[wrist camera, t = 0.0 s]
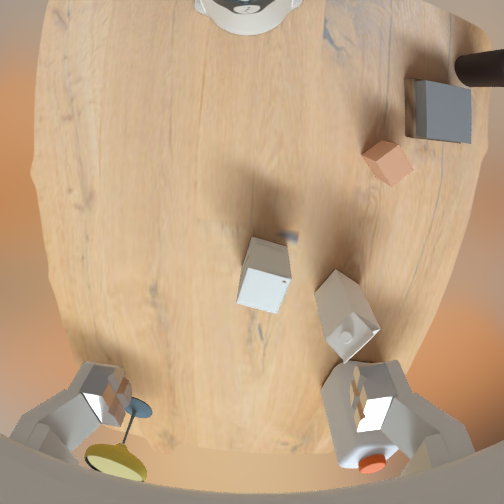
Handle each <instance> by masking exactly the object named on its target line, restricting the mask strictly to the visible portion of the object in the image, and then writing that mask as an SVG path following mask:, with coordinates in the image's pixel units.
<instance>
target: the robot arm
mask: <svg viewBox="0 0 504 504" xmlns="http://www.w3.org/2000/svg"><path fill="white" fill-rule="evenodd" d="M302 2H303V0H195V3H194V7H195V10H196V11H197V12H199V13H201V14H204V15H207V16H209V17H210V18H211V19H212V20H213V21H214V22H215V23H216V24H217V25H218V26H219V27H221V28H222V29H224V30H226V31H228V32H231V33H234V34H239V35H256V34H261V33H264V32H267V31H269V30H271V29H273V28H275V27H276V26H277V25H279V24H280V23H281V22H282V21H283V20H284V18H285V17H286V16H287V14H288V13H289V12H290V11H291V10H293V9H295V8H297V7H298V6H300V5H301V4H302ZM124 375H125V372H124V370H123V368H122V367H121V366H117V365H110V364H104V363H96V362H90V361H86V362H84V363H83V364H82V366H81V368H80V369H79V371H78V373H77V374H76V376H75V378H74V379H73V381H72V383H71V385H70V386H69V388H68V390H65V389H64V390H63V391H61V392H59V393H58V394H56V395H55V396H53V397H51V398H50V399H48V400H46V401H45V402H43V403H42V404H40V405H38V406H37V407H35V408H34V409H32V410H30V411H28V412H27V413H25V414H24V415H22V416H21V419H20V420H19V422H18V423H17V425H16V427H15V429H14V430H13V432H12V434H11V436H10V437H6V436H4V435H2V434H0V504H504V440H503V441H501V442H499V443H497V444H494V445H492V446H490V447H488V448H485V449H483V450H481V451H478V452H475V450H474V448H473V445H472V443H471V440H470V438H469V436H468V433H467V431H466V429H465V427H464V425H463V424H462V423H460V422H459V421H457V420H455V419H454V418H453V417H451V416H450V415H448V414H447V413H445V412H444V411H442V410H441V409H439V408H438V407H436V406H435V405H433V404H432V403H430V402H429V401H428V400H426V399H424V398H423V397H422V396H420V395H419V394H417V393H412V391H411V389H410V386H409V384H408V382H407V379H406V377H405V375H404V372H403V370H402V368H401V366H400V363H399V362H398V361H397V360H393V361H386V362H379V363H371V364H364V365H356V366H355V368H354V371H353V375H354V380H353V381H352V382H351V385H350V402H351V407H352V408H354V409H355V410H356V411H355V414H354V420H355V424H356V429H357V432H359V431H367V430H374V429H380V430H381V431H382V432H383V433H384V434H385V435H386V436H387V437H388V438H389V439H390V440H391V441H392V442H393V443H394V444H395V445H396V446H397V447H398V448H399V449H400V450H401V451H402V452H403V453H405V454H406V455H407V456H408V457H409V458H410V459H411V460H410V461H409V463H408V464H407V465H406V467H405V468H404V470H403V471H402V472H401V477H397V478H393V479H388V480H384V481H379V482H374V483H368V484H363V485H357V486H351V487H344V488H336V489H328V490H319V491H307V492H292V493H227V492H213V491H200V490H192V489H183V488H176V487H169V486H163V485H157V484H151V483H146V482H141V481H136V480H131V479H127V478H122V477H118V476H114V475H110V474H106V473H103V472H99V471H95V470H92V469H89V468H85V467H82V466H79V465H78V464H79V461H78V459H77V458H76V457H75V456H74V455H73V454H72V453H71V451H72V450H73V449H75V448H76V447H77V446H78V445H79V444H80V443H82V442H83V441H84V440H85V439H86V438H87V437H88V436H89V435H91V434H92V433H93V432H94V431H95V430H96V429H97V428H98V427H100V425H101V424H105V425H111V426H117V427H121V424H122V422H123V419H124V417H125V414H126V413H125V411H124V408H125V407H127V406H128V405H129V404H130V401H131V397H132V389H131V385H130V383H129V381H128V380H127V379H126V378H124Z"/></svg>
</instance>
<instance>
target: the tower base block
mask: <svg viewBox="0 0 504 504" xmlns="http://www.w3.org/2000/svg"><path fill="white" fill-rule="evenodd" d="M416 81H423V80H420V79H413V78H411V79H405V80H404V89H405V129H406V132H405V136H406V137H410V138H417V139H428V140H437V141H446V142H454V143H461V142H455V141H447V140H439V139H429V138H423V137H419V136H416V92H415V82H416Z"/></svg>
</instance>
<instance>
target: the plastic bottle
mask: <svg viewBox="0 0 504 504" xmlns="http://www.w3.org/2000/svg"><path fill="white" fill-rule="evenodd" d="M364 364H371V363H366V362H359V361H347V362H346V363H345V364H344V363H343V362H342V363H340V364H338V365H337V366H336V367H335V368H334V369H333V370H332V372H331V374H330V375H329V377H328V379H327V380H326V382H325V383H324V385H323V387H322V389H321V395H322V399H323V403H324V407H325V411H326V415H327V419H328V423H329V427H330V432H331V436H332V440H333V444H334V448H335V452H336V457H337V461H338V464H339V465H340V466H341V467H343V468H359V471H360V472H361V473H363V474H368V473H373V472H377V471H379V470H381V469H382V468H384V467H385V465H386V460H387V459H388V458H389V457H390V456H392V454H394V453H395V452H396V451H397V450H398V449H399V448H398V447H397V446H396V445H395V444H394V443H393V442H392V441H391V440H390V439H389V438H388V437H387V436H386V435H385V434H384V433H383V432H382V431H381V430H380V429H374V430H367V431H359V432H357V429H356V424H355V420H354V414H355V411H356V410H355V409H354V408H352V407H351V402H350V385H351V382H352V381H353V380H354V375H353V371H354V368H355V366H356V365H364Z"/></svg>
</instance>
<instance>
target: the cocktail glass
mask: <svg viewBox="0 0 504 504" xmlns="http://www.w3.org/2000/svg"><path fill="white" fill-rule="evenodd" d="M124 410H125V411H126V412H128V413H129V414H131V415H132V416H131V419H130V422H129V425H128V428H127V431H126V434H125V437H124V440H123V443H119V444H117V445H107V444H95V445H92V446H90V447H89V448H88V449H87V450H86V453H85V457H84V458H85V461H86V462H87V464H88V465H89V466H90V467H91V468H92V469H94V470H95V471H99V472H103V473H106V474H110V475H114V476H118V477H122V478H127V479H131V480H136V481H141V482H145V480H146V477H147V470H146V468H145V466H144V465H143V463H142V462H141V461H140V460H139V459H138V458H136V457H135V456H134V455H133V454H131V453H130V452H129V451H128V449H127V447H126V445H125V444H124V443H125V440H126V437H127V434H128V432H129V429H130V426H131V424H132V421H133V419H134V417H135V416H136V417H139V418H148V417H150V416H151V415H152V410H151V408H150V407H149V406H148V405H147V404H146V403H144V402H143V401H141V400H139V399H136V398H132V397H131V401H130V404H129V405H128V406H127V407H125V408H124Z"/></svg>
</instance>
